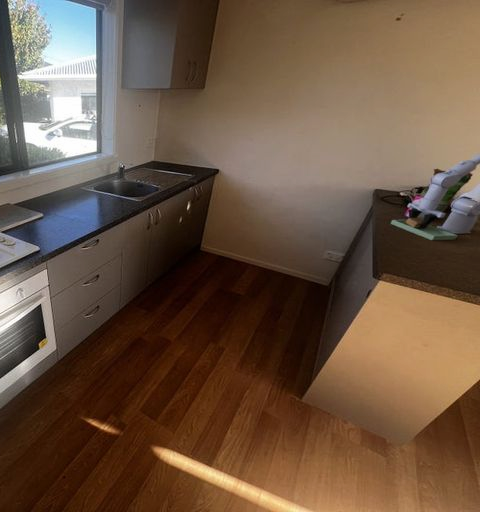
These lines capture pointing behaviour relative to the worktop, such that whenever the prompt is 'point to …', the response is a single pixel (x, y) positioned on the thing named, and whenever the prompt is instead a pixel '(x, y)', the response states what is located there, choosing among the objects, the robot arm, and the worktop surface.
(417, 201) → the supplement box
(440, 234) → the tray
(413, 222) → the eraser
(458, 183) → the pouch
